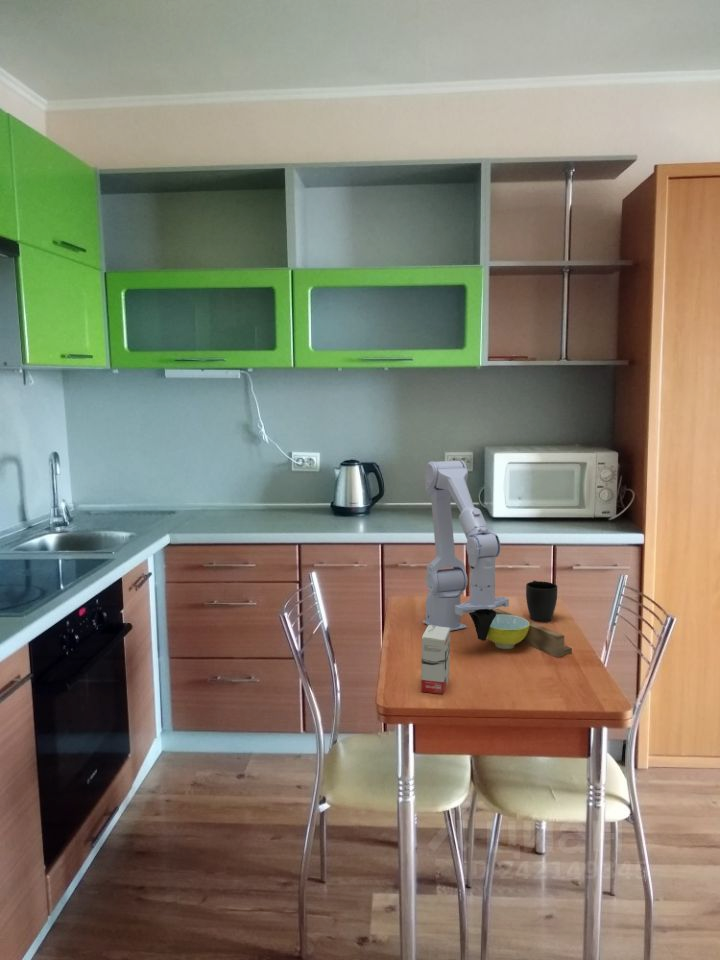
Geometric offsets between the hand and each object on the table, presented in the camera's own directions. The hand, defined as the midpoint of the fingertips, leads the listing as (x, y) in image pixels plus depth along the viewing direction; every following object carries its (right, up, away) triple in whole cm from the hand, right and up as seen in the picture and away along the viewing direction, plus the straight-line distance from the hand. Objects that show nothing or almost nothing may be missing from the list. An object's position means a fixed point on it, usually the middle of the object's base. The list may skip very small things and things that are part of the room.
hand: (481, 639), depth 166 cm
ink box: (-13, -6, -19) cm, 24 cm away
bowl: (+6, -3, +4) cm, 8 cm away
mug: (+20, 0, +26) cm, 33 cm away
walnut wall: (+13, -2, +8) cm, 15 cm away
